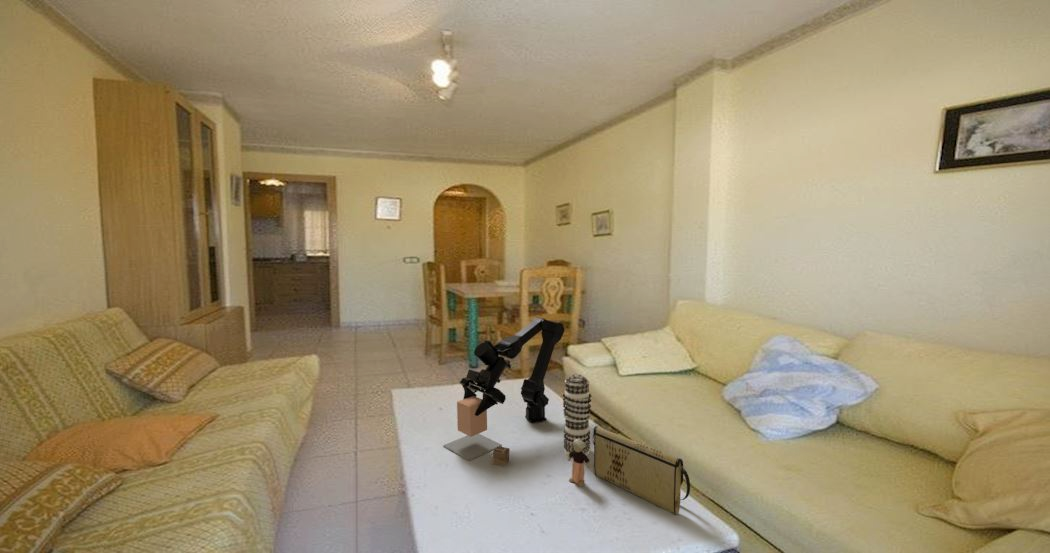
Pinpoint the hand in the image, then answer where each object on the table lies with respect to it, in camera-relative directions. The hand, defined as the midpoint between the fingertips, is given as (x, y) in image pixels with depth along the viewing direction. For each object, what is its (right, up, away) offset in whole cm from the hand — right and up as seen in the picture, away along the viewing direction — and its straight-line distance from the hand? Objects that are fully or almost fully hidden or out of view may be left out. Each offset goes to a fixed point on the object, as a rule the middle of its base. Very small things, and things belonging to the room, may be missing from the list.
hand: (468, 412), depth 146 cm
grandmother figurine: (+34, -14, -20) cm, 42 cm away
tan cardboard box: (+1, -6, +2) cm, 7 cm away
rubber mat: (+1, -12, +2) cm, 12 cm away
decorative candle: (+36, -12, -2) cm, 38 cm away
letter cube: (+11, -13, -9) cm, 19 cm away
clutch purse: (+50, -14, -24) cm, 57 cm away
